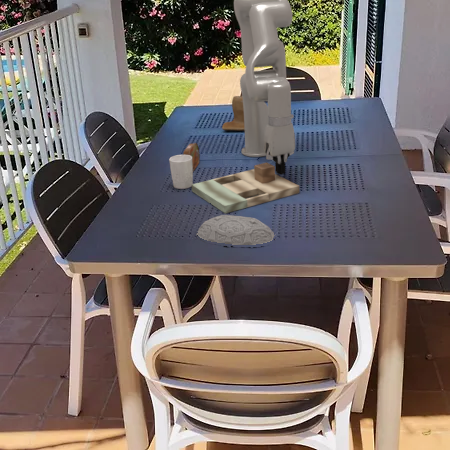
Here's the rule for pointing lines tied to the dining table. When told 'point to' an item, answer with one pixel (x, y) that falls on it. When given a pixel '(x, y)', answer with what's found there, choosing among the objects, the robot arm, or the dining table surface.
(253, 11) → the robot arm
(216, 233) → the embossed grey dome
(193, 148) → the tin
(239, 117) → the brown l-shaped block
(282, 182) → the board
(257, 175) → the walnut block
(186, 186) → the white cup
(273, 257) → the dining table surface
